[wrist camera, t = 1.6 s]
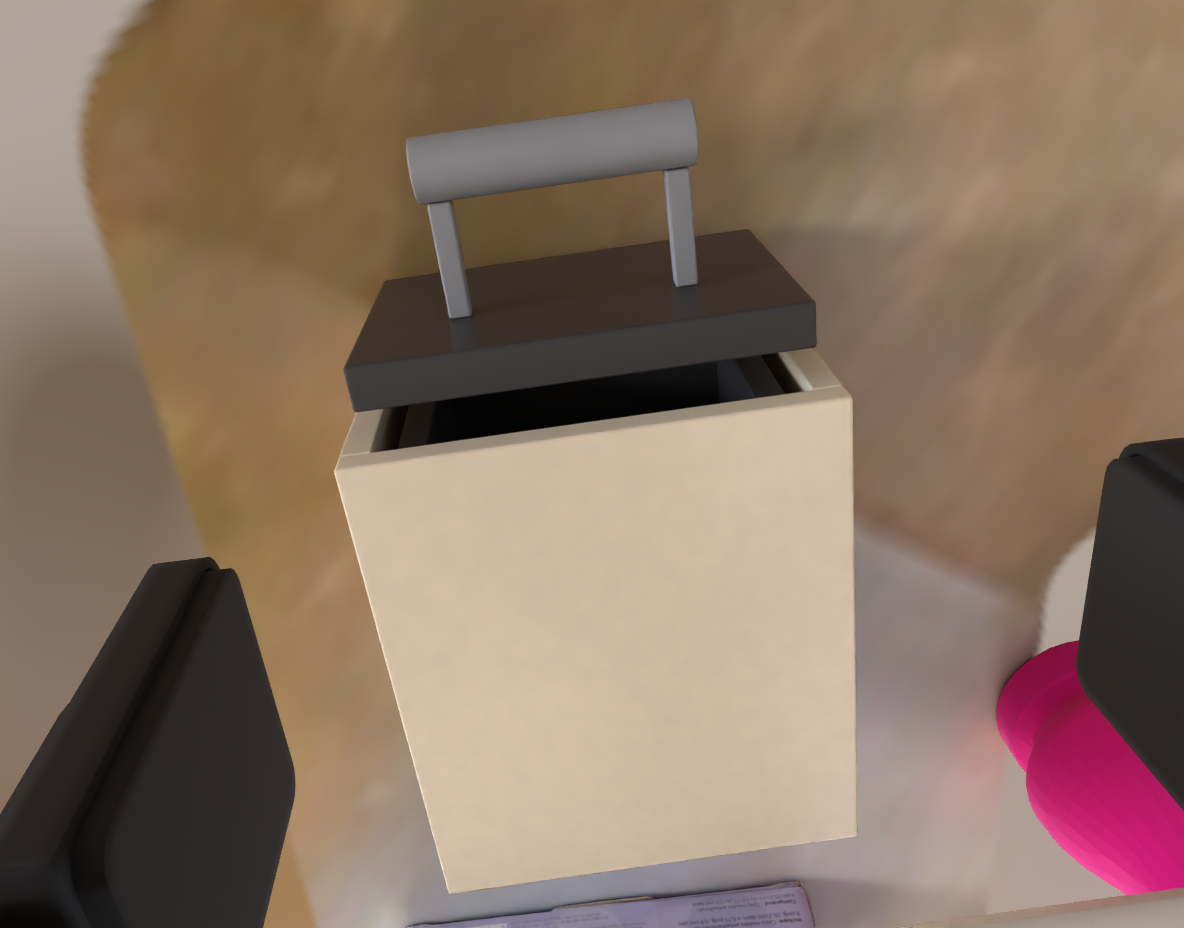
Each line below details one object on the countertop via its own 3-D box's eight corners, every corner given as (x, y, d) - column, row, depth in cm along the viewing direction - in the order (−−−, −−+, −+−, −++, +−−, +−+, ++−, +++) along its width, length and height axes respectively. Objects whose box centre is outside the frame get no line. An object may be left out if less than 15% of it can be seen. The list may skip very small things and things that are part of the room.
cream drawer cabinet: (383, 340, 32) (333, 470, 24) (765, 286, 32) (853, 396, 24) (465, 692, 39) (448, 895, 30) (783, 647, 39) (858, 837, 30)
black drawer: (348, 125, 29) (291, 171, 22) (740, 69, 29) (811, 97, 22) (463, 635, 37) (449, 790, 30) (769, 592, 36) (828, 736, 30)
